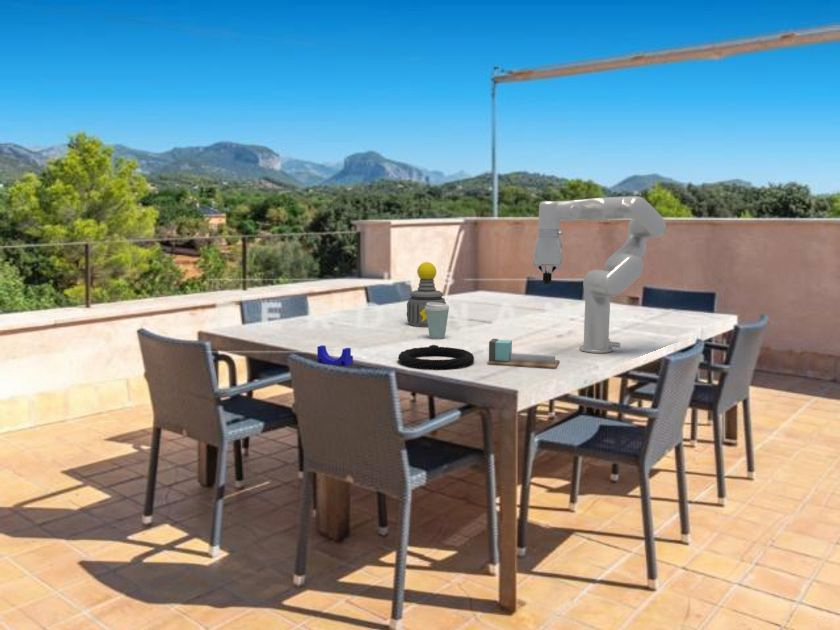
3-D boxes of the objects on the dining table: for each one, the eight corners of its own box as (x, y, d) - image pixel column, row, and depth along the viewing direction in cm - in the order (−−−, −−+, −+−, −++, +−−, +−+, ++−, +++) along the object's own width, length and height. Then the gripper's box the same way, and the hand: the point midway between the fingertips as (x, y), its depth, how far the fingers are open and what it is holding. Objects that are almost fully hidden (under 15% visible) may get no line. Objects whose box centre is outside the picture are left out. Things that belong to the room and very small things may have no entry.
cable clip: (352, 364, 263) (352, 347, 262) (346, 366, 259) (346, 349, 258) (324, 360, 268) (324, 344, 267) (317, 363, 264) (317, 346, 263)
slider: (511, 358, 268) (511, 340, 267) (508, 361, 262) (509, 343, 262) (498, 357, 270) (498, 339, 269) (494, 360, 264) (495, 342, 263)
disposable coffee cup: (451, 336, 320) (452, 302, 318) (446, 340, 310) (446, 305, 308) (428, 335, 323) (428, 301, 321) (421, 339, 313) (421, 304, 311)
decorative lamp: (404, 327, 346) (404, 263, 342) (409, 321, 364) (409, 260, 360) (444, 328, 344) (445, 263, 339) (447, 322, 362) (448, 261, 358)
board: (559, 362, 266) (559, 360, 266) (555, 369, 255) (555, 366, 255) (493, 358, 273) (493, 356, 273) (487, 364, 262) (487, 362, 262)
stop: (498, 357, 270) (498, 338, 269) (494, 361, 263) (494, 342, 263) (492, 357, 271) (493, 338, 270) (488, 361, 264) (489, 341, 263)
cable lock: (397, 360, 251) (397, 344, 281) (397, 371, 252) (397, 354, 282) (478, 360, 252) (469, 344, 282) (478, 371, 253) (469, 354, 283)
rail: (555, 362, 262) (555, 356, 262) (554, 363, 260) (554, 357, 259) (496, 358, 268) (496, 352, 268) (495, 360, 266) (495, 353, 265)
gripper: (569, 234, 277) (568, 283, 279) (530, 234, 281) (528, 282, 284) (567, 235, 270) (566, 285, 272) (527, 234, 274) (525, 283, 276)
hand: (547, 283), depth 278 cm, fingers closed
